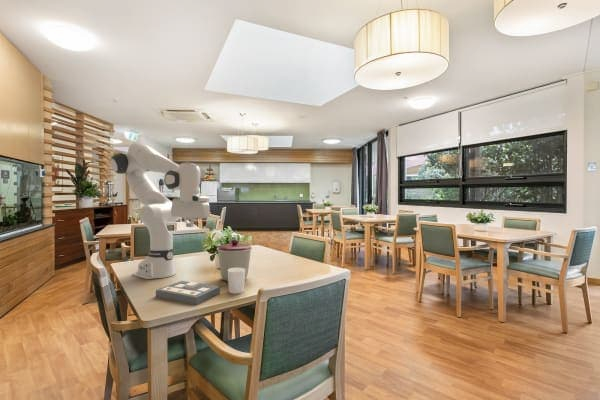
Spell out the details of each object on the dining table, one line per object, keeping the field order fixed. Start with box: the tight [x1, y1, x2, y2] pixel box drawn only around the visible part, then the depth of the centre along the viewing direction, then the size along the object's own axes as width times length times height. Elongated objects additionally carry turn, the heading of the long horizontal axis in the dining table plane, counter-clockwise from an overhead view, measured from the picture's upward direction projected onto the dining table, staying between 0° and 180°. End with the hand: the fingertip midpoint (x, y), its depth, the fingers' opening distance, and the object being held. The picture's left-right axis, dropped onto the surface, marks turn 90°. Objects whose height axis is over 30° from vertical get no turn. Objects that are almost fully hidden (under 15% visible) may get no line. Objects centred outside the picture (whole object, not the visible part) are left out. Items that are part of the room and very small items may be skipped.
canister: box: [216, 238, 253, 282], centre depth 154 cm, size 18×18×21 cm
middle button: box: [185, 281, 200, 289], centre depth 130 cm, size 4×4×2 cm
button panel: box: [155, 280, 221, 306], centre depth 128 cm, size 22×15×3 cm
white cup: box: [227, 268, 246, 295], centre depth 135 cm, size 8×8×10 cm
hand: (189, 227), depth 137 cm, fingers closed
